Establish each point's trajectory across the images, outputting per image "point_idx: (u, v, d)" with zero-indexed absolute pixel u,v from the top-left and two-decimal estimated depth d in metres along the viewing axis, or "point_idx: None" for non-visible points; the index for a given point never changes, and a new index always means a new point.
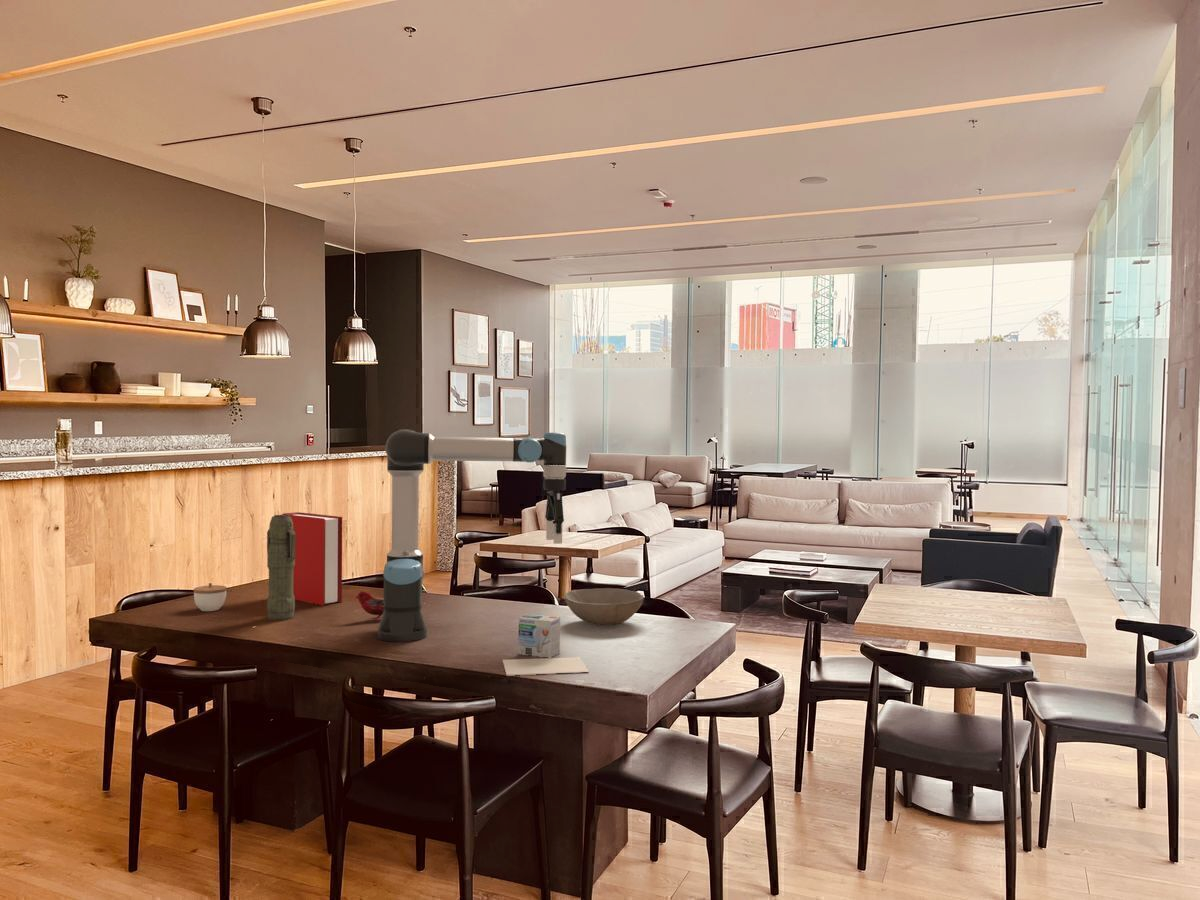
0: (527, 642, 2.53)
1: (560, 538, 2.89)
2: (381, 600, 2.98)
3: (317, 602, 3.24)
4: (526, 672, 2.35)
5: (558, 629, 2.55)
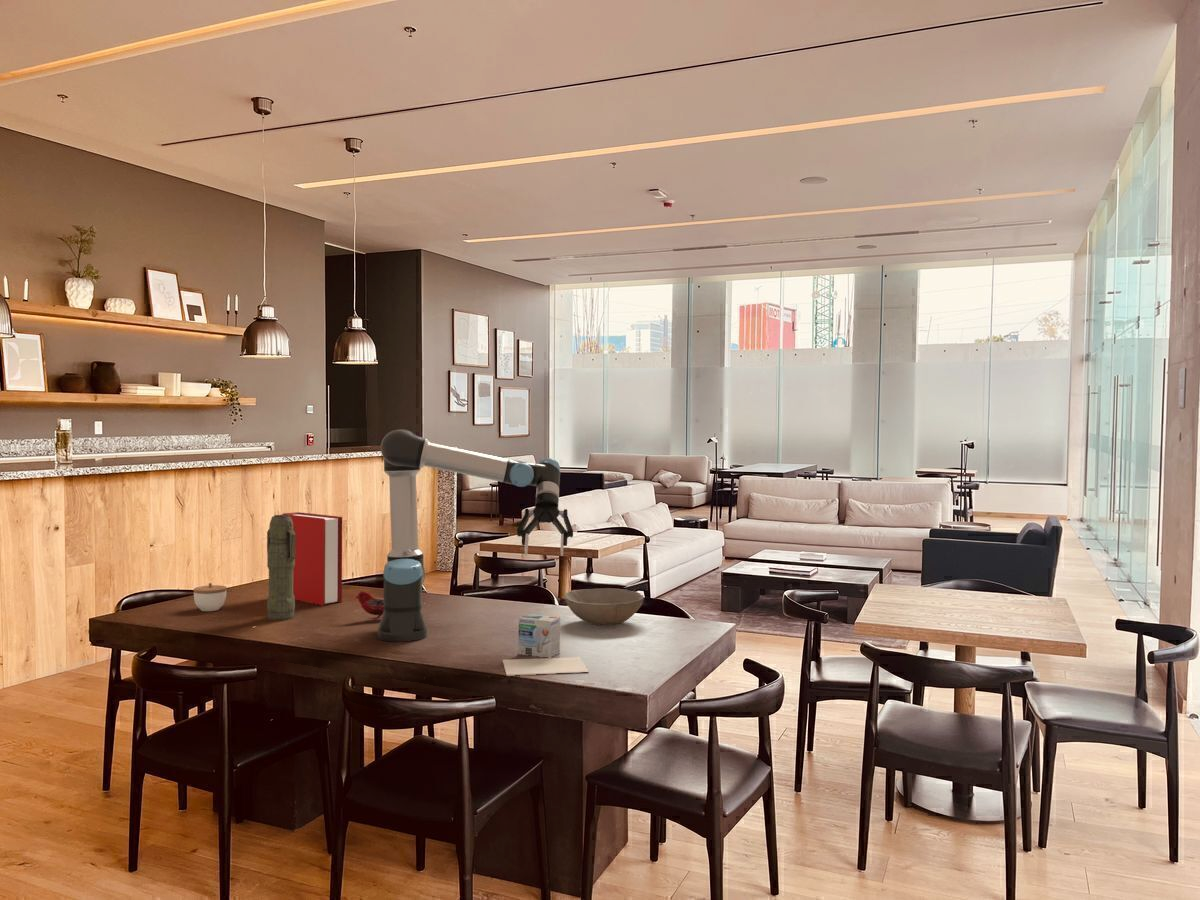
0: (527, 642, 2.53)
1: None
2: (381, 600, 2.98)
3: (317, 602, 3.24)
4: (526, 672, 2.35)
5: (558, 629, 2.55)
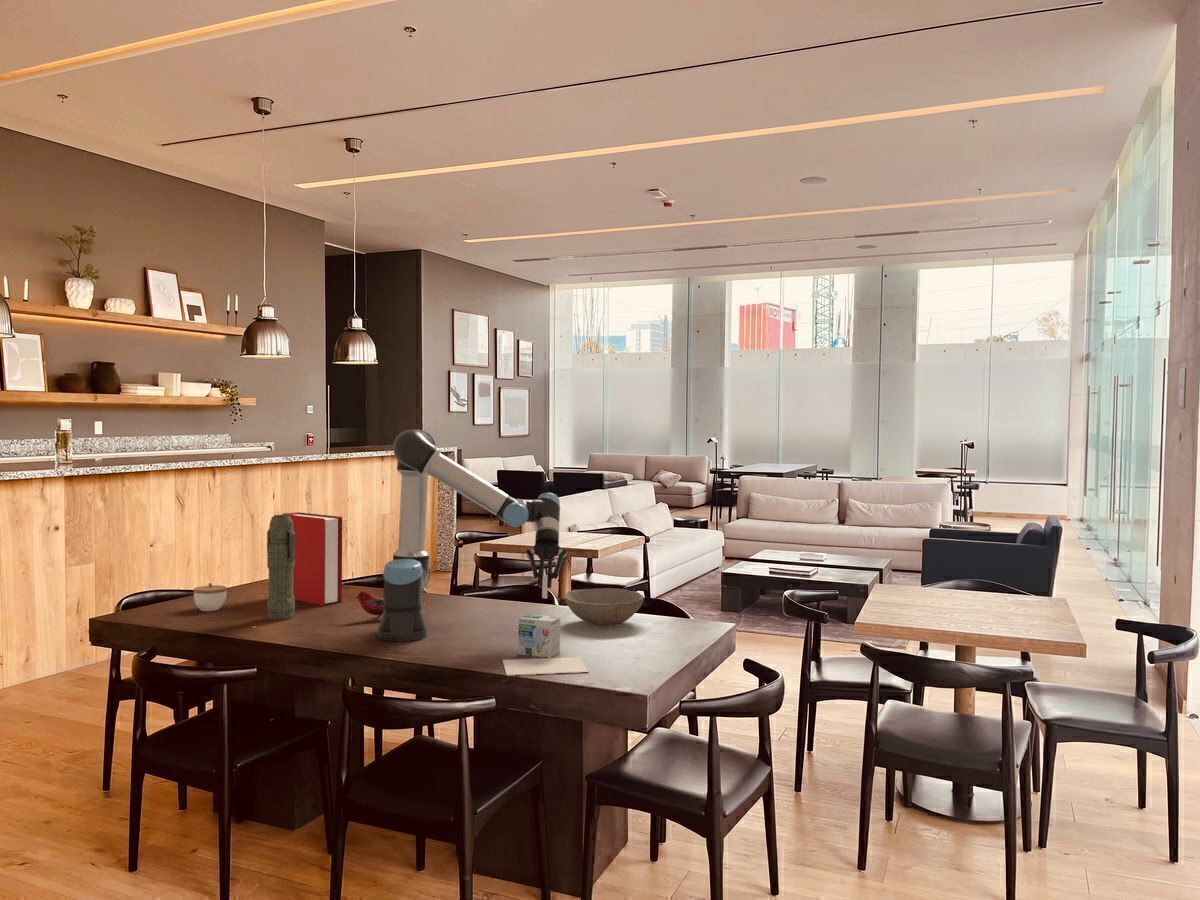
0: (527, 642, 2.53)
1: (547, 592, 2.69)
2: (381, 600, 2.98)
3: (317, 602, 3.24)
4: (526, 672, 2.35)
5: (558, 629, 2.55)
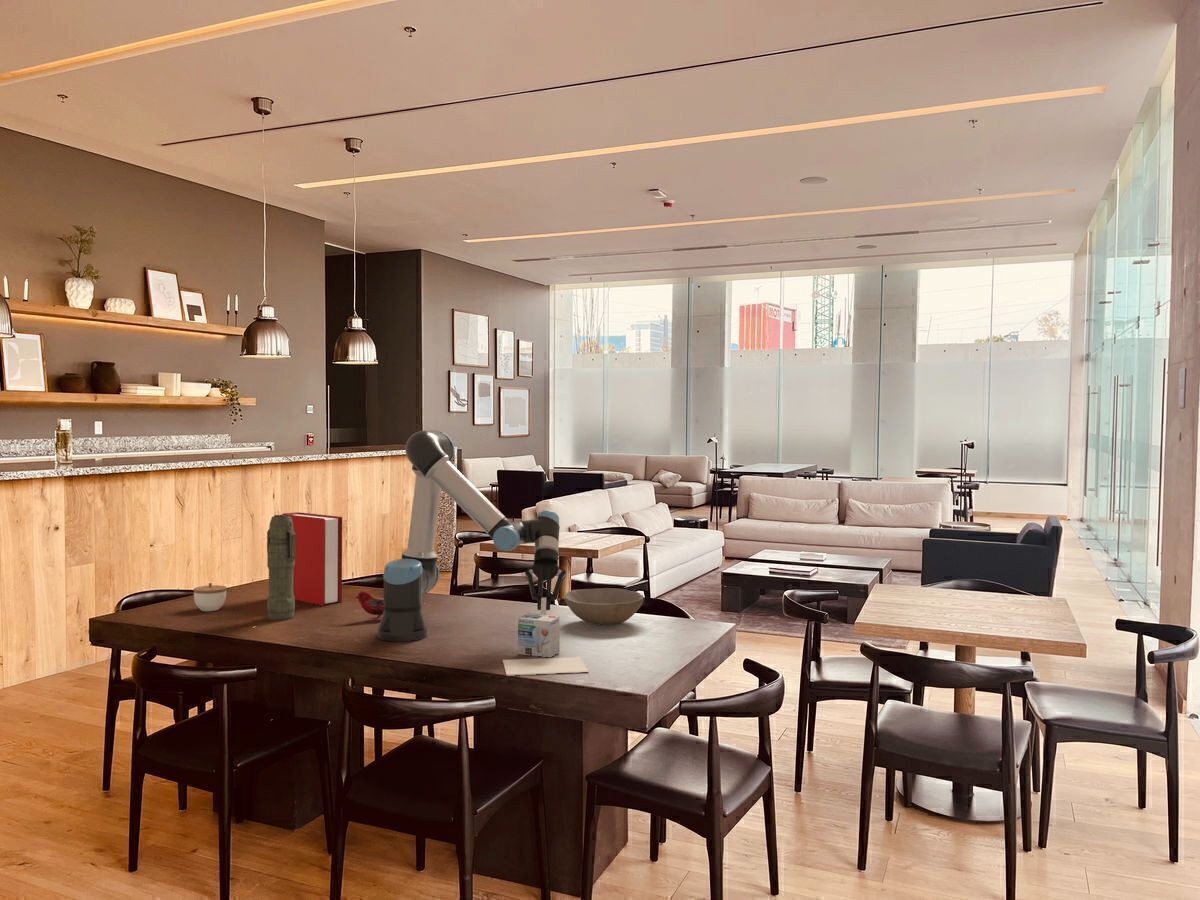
0: (527, 642, 2.53)
1: None
2: (381, 600, 2.98)
3: (317, 602, 3.24)
4: (526, 672, 2.35)
5: (558, 628, 2.55)
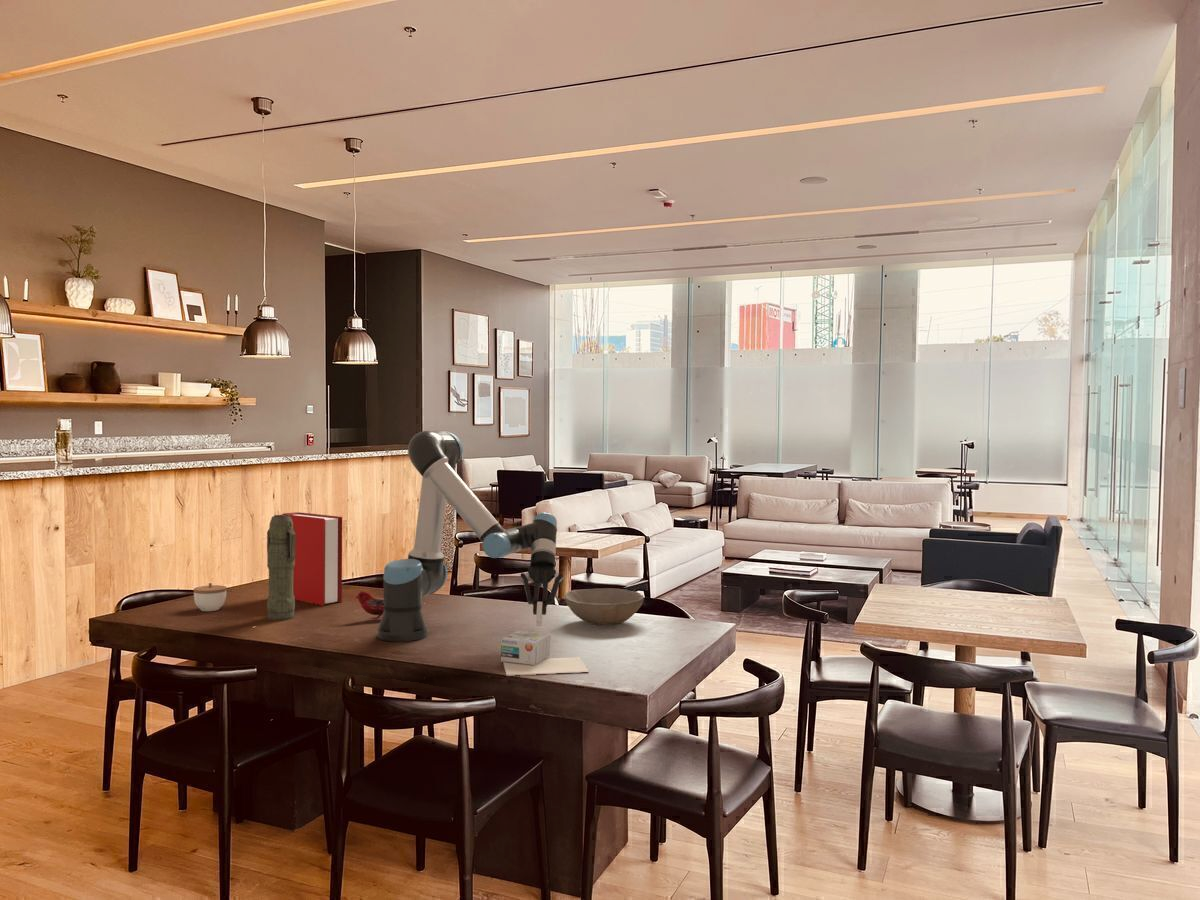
0: None
1: None
2: (381, 600, 2.98)
3: (317, 602, 3.24)
4: (526, 672, 2.35)
5: (539, 644, 2.44)
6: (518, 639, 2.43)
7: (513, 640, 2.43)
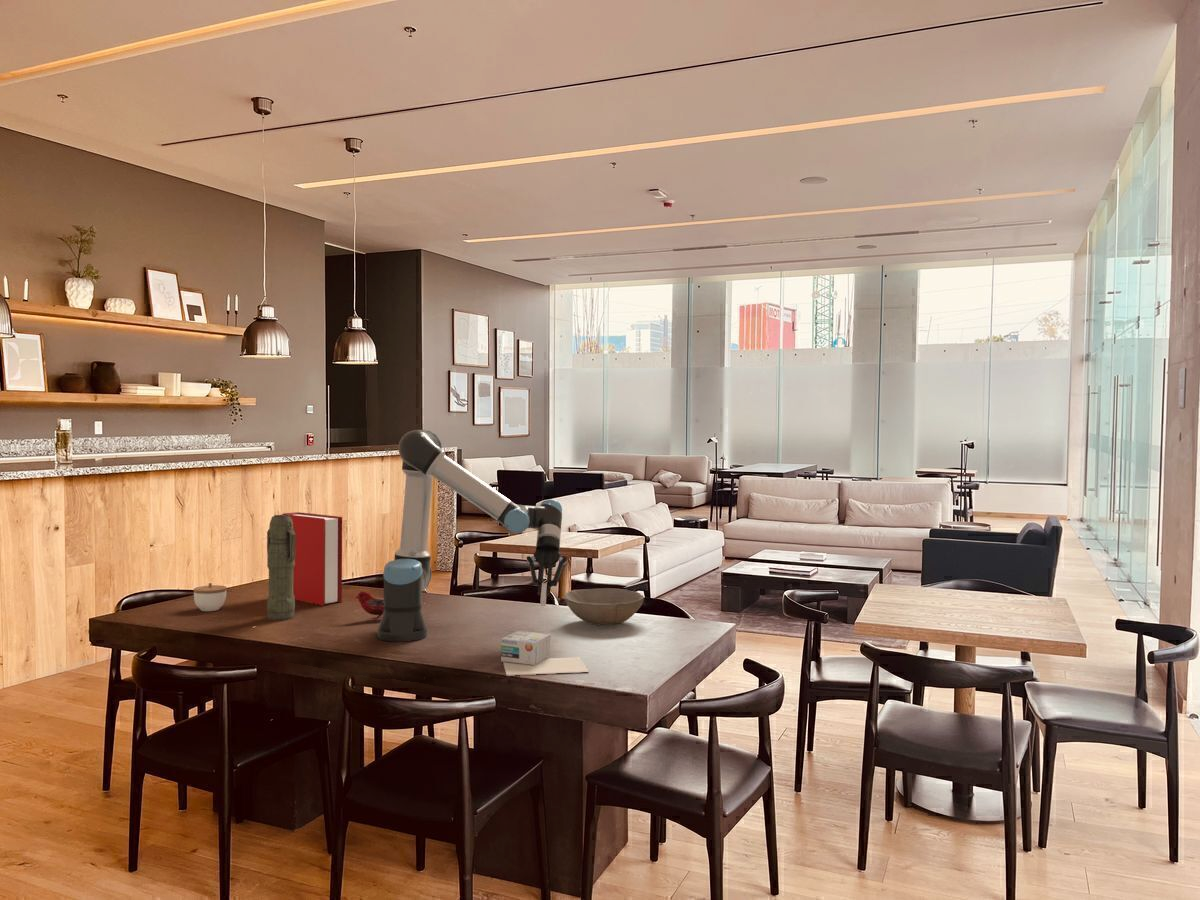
0: None
1: None
2: (381, 600, 2.98)
3: (317, 602, 3.24)
4: (526, 672, 2.35)
5: (539, 644, 2.44)
6: (518, 639, 2.43)
7: (513, 640, 2.43)
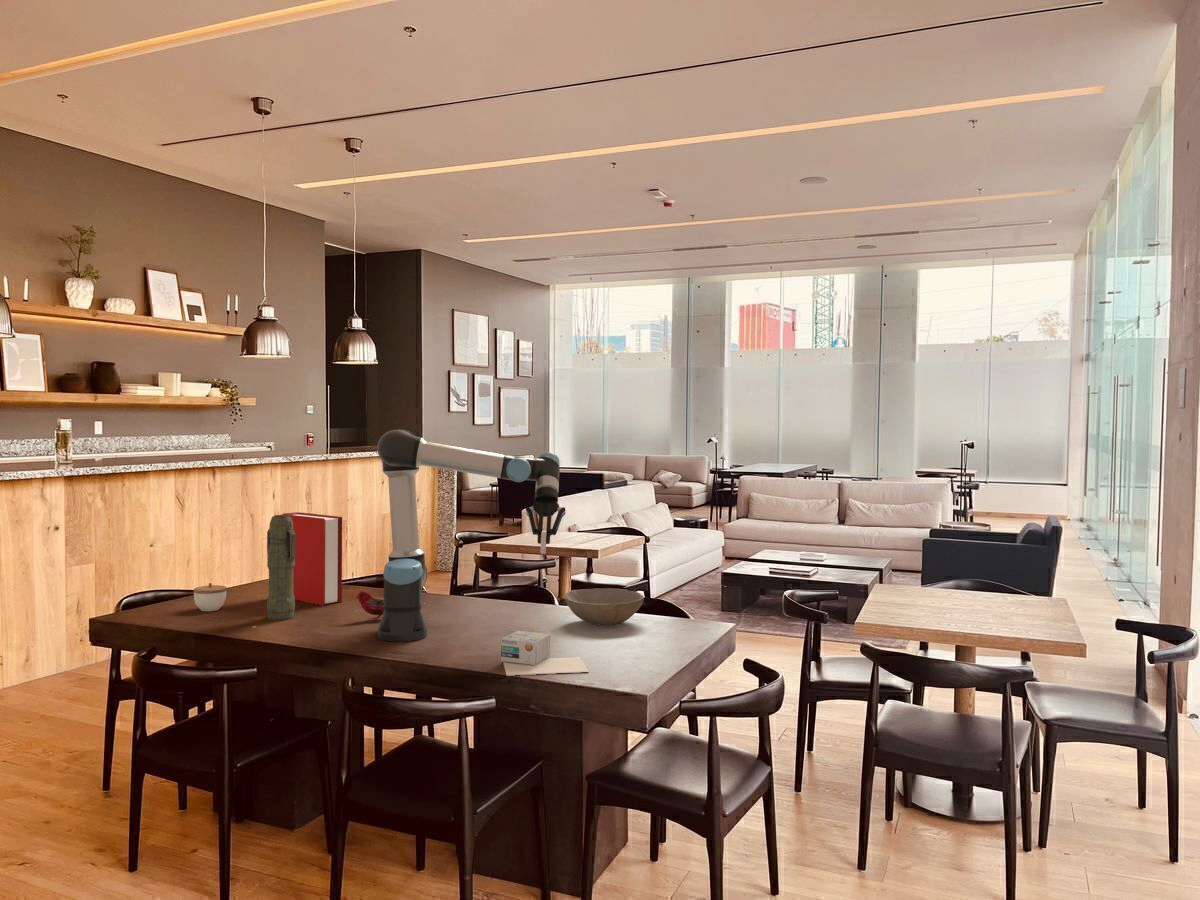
0: None
1: None
2: (381, 600, 2.98)
3: (317, 602, 3.24)
4: (526, 672, 2.35)
5: (539, 644, 2.44)
6: (518, 639, 2.43)
7: (513, 640, 2.43)
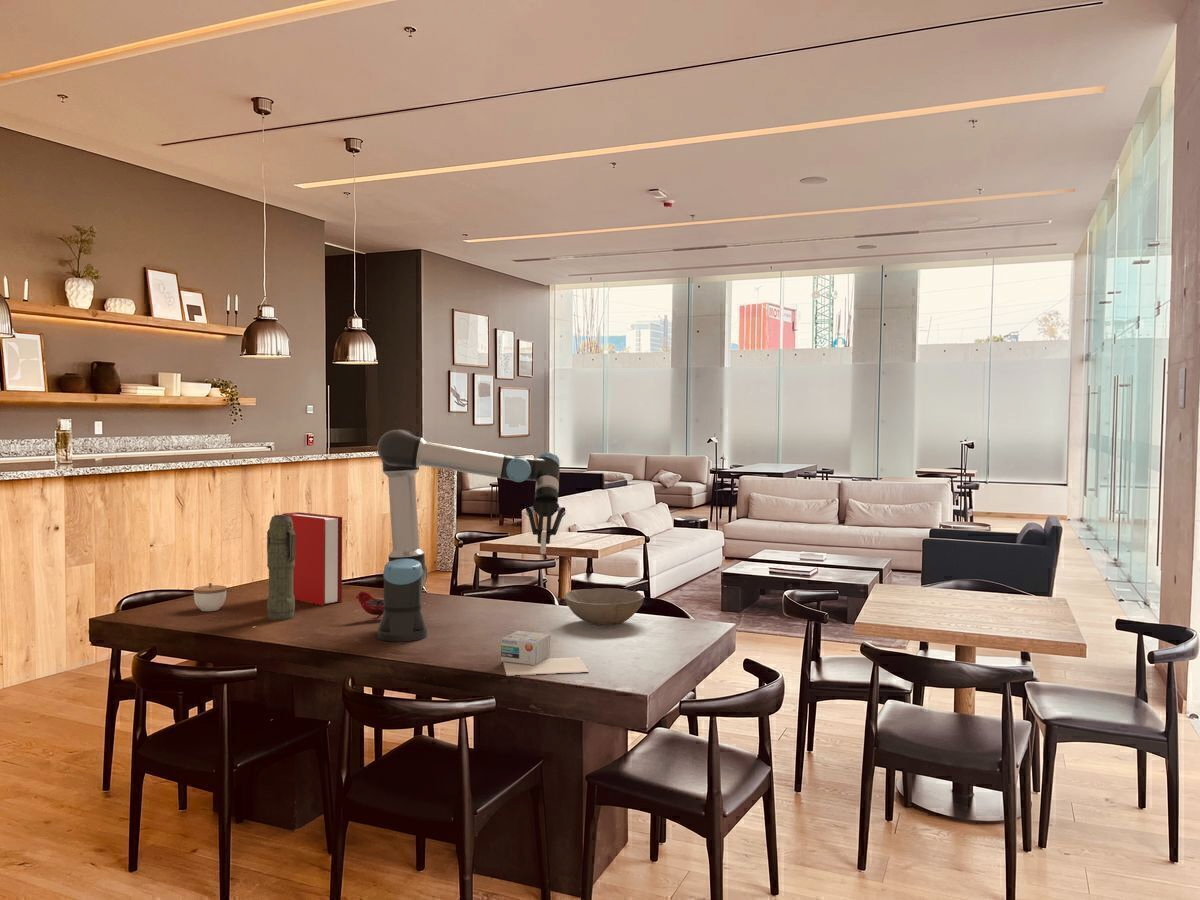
0: None
1: None
2: (381, 600, 2.98)
3: (317, 602, 3.24)
4: (526, 672, 2.35)
5: (539, 644, 2.44)
6: (518, 639, 2.43)
7: (513, 640, 2.43)
